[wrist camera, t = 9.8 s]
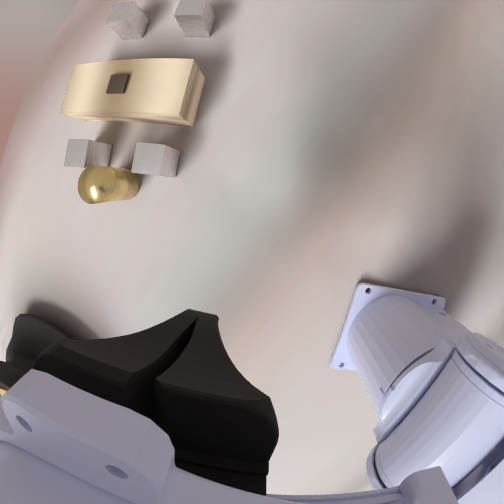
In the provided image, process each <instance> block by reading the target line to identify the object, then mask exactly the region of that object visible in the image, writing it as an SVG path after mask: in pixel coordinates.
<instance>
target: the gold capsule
mask: <svg viewBox="0 0 504 504" xmlns="http://www.w3.org/2000/svg"><path fill="white" fill-rule="evenodd" d="M139 187H140V179H139V176H138V175H137V173H131V169H124V168H114V167H104V166H89V167H87V168H86V169H85V170H84V171H83V172H82V173H81V175H80V177H79V181H78V191H79V194H80V197H81V198H82V199H83V200H84V201H85V202H86V203H89V204H95V203H102V202H110V201H118V200H126V199H131V198H133V197H134V196H135V195H136V194H137V192H138V190H139Z"/></svg>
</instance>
